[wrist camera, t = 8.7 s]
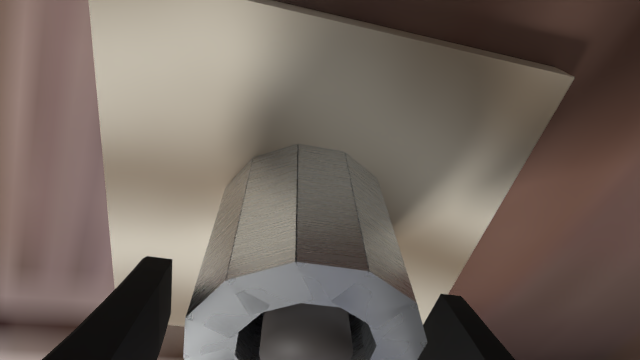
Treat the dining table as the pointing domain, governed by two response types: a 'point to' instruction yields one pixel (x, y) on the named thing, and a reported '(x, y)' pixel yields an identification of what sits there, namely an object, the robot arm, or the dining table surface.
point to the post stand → (304, 135)
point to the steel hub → (303, 258)
